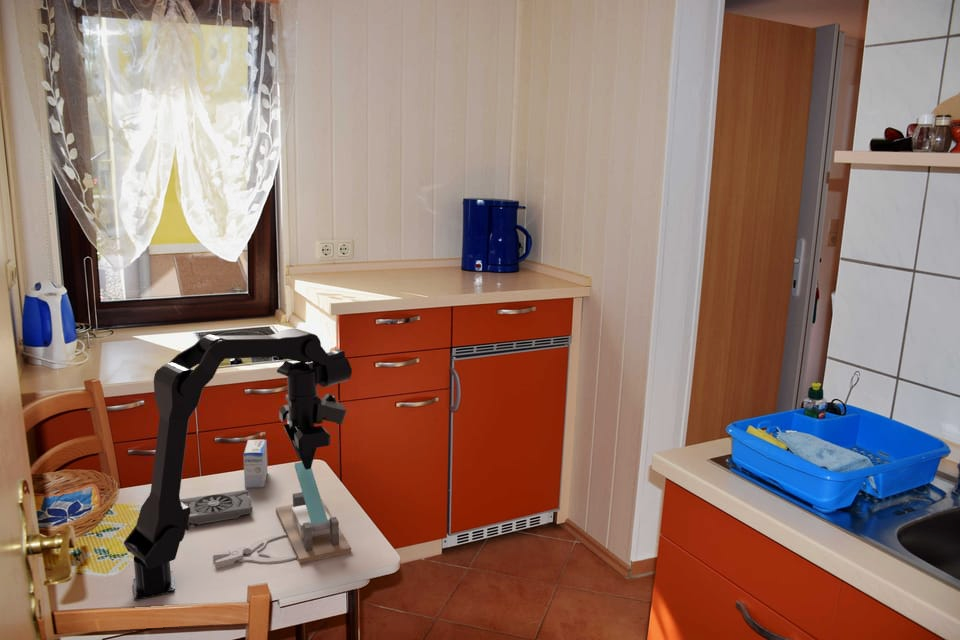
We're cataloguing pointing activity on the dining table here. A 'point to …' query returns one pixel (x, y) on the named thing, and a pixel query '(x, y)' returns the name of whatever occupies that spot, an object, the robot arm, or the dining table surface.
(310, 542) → the board
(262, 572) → the dining table surface
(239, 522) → the dining table surface
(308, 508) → the lever
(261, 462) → the medicine box
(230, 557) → the pliers
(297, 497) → the block
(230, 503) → the graphics card
